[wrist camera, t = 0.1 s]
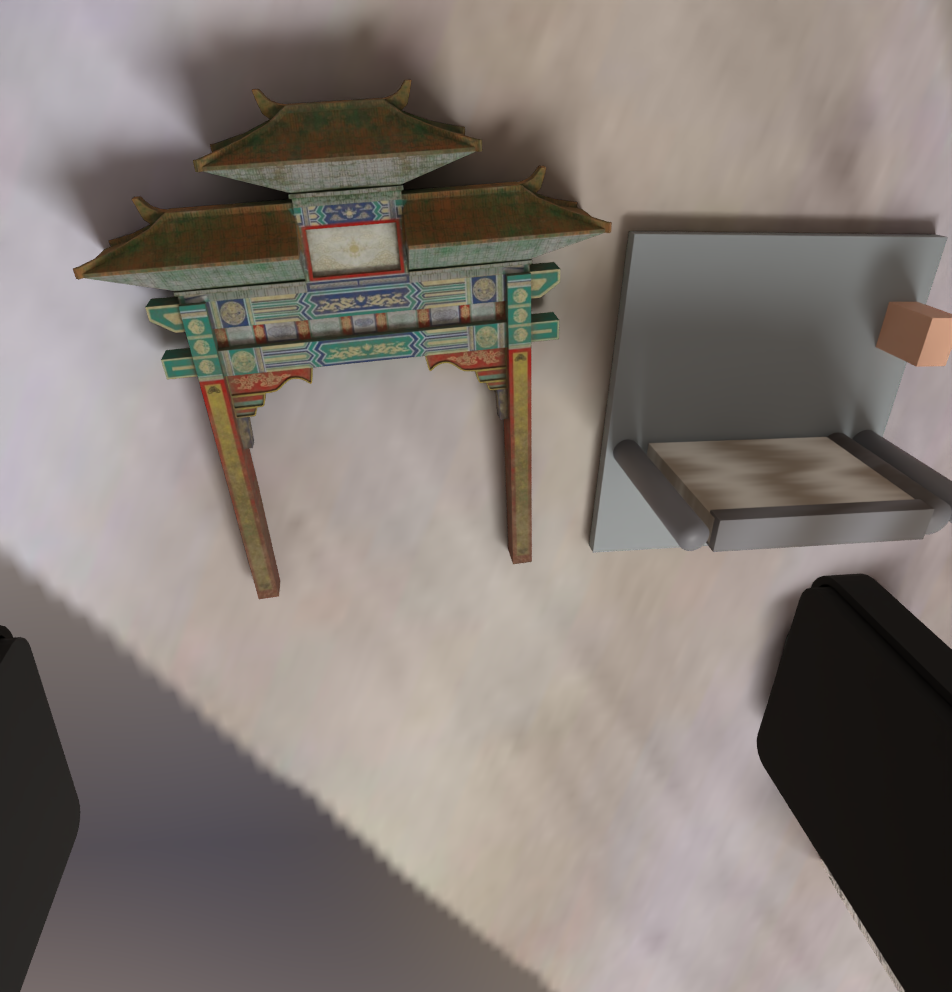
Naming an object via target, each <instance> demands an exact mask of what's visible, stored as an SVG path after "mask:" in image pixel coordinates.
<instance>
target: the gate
mask: <svg viewBox="0 0 952 992" xmlns="http://www.w3.org/2000/svg"><path fill="white" fill-rule="evenodd" d="M647 456H648V457H649V458H650V460H651V461H652V462H653V463H654V464H655V465H656V467H657V468H658V469H659V470H660V471H661V473H662V474H663V475H664V476H665V477H666V479H667V480H668V481H669V482H670V483H671V484H672V486H673V487H674V488H675V489H676V490H677V492H678V493H679V494H680V495H681V496H682V497H683V499H684V500H685V501H686V502H687V503H688V505H689V506H690V507H691V508H692V509H693V511H694V512H695V513H696V514H697V515H698V516H699V518H700V519H701V520H702V521H703V522H704V524H705V525H706V526H707V527H708V529H709V538H708V540H707V542H706V544H707V545H708V546H709V547H710V548H711V550H712V551H713V552H720V551H736V550H752V549H769V548H785V547H802V546H818V545H834V544H851V543H867V542H884V541H900V540H917V539H923V538H924V535H925V534H933V533H935V532H937V531H939V530H941V529H942V528H943V527H944V526H945V525H946V524H947V523H948V521H949V520H950V517H951V514H952V509H951V507H950V505H949V504H948V503H946V502H945V501H943V500H942V499H940V498H939V497H937V496H936V495H934V494H933V493H931V492H930V491H928V490H927V489H925V488H924V487H922V486H921V485H919V484H918V483H916V482H915V481H913V480H912V479H911V478H909V477H908V476H906V475H905V474H903V473H902V472H900V471H899V470H897V469H896V468H894V467H893V466H891V465H890V464H888V463H887V462H885V461H884V460H882V459H881V458H879V457H878V456H876V455H875V454H873V453H872V452H871V451H869V450H868V449H866V448H865V447H863V446H862V445H860V444H859V443H857V442H856V441H854V440H853V439H851V438H850V437H848V436H847V435H845V434H844V433H839V432H838V433H833V434H831V435H829V436H828V437H808V438H780V439H752V440H724V441H696V442H669V443H649V445H648V451H647Z"/></svg>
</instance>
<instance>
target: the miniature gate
mask: <svg viewBox="0 0 952 992" xmlns="http://www.w3.org/2000/svg"><path fill="white" fill-rule="evenodd" d="M411 81H412V80H404V82H403V84H402V85H401V87H400V88H399V90H398V91H397V92H396V93H394V94H393V95H391V96H389V97H385V98H372V99H357V100H341V101H325V102H310V103H294V104H280V103H276V102H274V101H271V100H270V99H268V98H267V97H266V96H265V95H264V94H263V93H262V92H261V91H260V90H259V89H252V92H253V95H254V97H255V99H256V101H257V104H258V106H259V108H260V110H261V112H262V114H263V115H265V116H266V117H268V118H269V119H270V120H268V121H266V122H264V123H262V124H261V125H259V126H257V127H255V128H253V129H251V130H250V131H248V132H246V133H243V134H241V135H238V136H235V137H232V138H229V139H227V140H224V141H221V142H218V143H215V144H210V147H211V150H212V153H210V154H208V155H206V156H203V157H201V158H199V159H196V160H193V163H194V168H195V171H196V172H202V171H203V172H207V173H211V174H215V175H219V176H223V177H227V178H231V179H235V180H239V181H243V182H247V183H251V184H256V185H260V186H264V187H268V188H272V189H276V190H280V191H284V192H288V193H289V194H288V195H289V199H286V200H273V201H261V202H248V203H235V204H222V205H210V206H197V207H184V208H171V209H168V210H167V209H160V208H156V207H153V206H152V205H150V204H149V203H147V202H146V201H145V200H144V199H143V198H142V197H141V196H138V197H134V198H132V201H133V203H134V204H135V206H136V208H137V209H138V211H139V213H140V214H141V216H142V218H143V219H144V220H145V221H146V222H148V223H150V225H148V226H146V227H144V228H142V229H140V230H138V231H136V232H135V233H132V234H129V235H126V236H122V237H119V238H116V239H112V240H109V243H110V246H111V247H109V248H106V249H104V250H103V251H102V252H101V253H100V254H99V255H98V256H97V257H96V258H95V259H93V260H91V261H89V262H87V263H85V264H83V265H81V266H79V267H76V268H73V271H74V274H75V277H76V279H78V280H79V279H82V278H87V279H94V280H101V281H108V282H115V283H122V284H129V285H136V286H143V287H150V288H158V289H165V290H172V291H174V296H177V297H166V298H155V299H151V300H150V301H149V303H148V304H147V306H146V307H145V308H146V311H147V315H148V318H149V321H150V322H152V323H154V324H157V325H159V326H161V327H163V328H166V329H168V330H170V331H172V332H175V333H178V332H186V335H187V339H188V343H189V346H190V348H184V349H174V350H166V351H165V353H164V355H163V357H162V359H161V361H162V365H163V368H164V371H165V375H166V378H167V379H176V378H186V377H196V376H198V379H199V383H200V386H201V390H202V394H203V397H204V401H205V405H206V408H207V412H208V416H209V419H210V423H211V427H212V430H213V434H214V437H215V441H216V445H217V448H218V452H219V456H220V459H221V463H222V467H223V470H224V474H225V478H226V481H227V485H228V488H229V492H230V496H231V499H232V503H233V507H234V510H235V514H236V518H237V521H238V525H239V529H240V532H241V536H242V539H243V543H244V547H245V550H246V554H247V558H248V561H249V565H250V569H251V572H252V576H253V580H254V583H255V587H256V590H257V594H258V598H259V599H263V598H271V597H278V596H279V589H280V578H279V573H278V569H277V565H276V560H275V556H274V552H273V547H272V543H271V538H270V534H269V530H268V525H267V521H266V517H265V512H264V508H263V503H262V499H261V495H260V490H259V486H258V482H257V478H256V474H255V470H254V466H253V462H252V458H251V454H250V449H249V448H253V444H254V438H253V432H252V427H251V422H250V417H252V416H255V415H256V411H257V407H263V406H264V404H265V399H266V393H271V392H275V391H277V390H279V389H280V388H281V387H282V386H283V385H284V384H285V383H286V382H287V381H288V380H291V379H302V380H305V381H307V382H308V383H310V384H311V383H312V375H313V367H321V366H331V365H341V364H350V363H360V362H370V361H379V360H389V359H399V358H408V357H418V356H425V357H426V361H427V365H428V368H429V370H430V371H432V370H433V369H434V368H435V367H436V366H437V365H439V364H442V363H451V364H453V365H454V366H456V367H457V368H459V369H461V370H463V371H475V373H476V376H477V378H478V381H479V382H480V383H485V382H486V383H487V386H488V388H489V390H496V402H497V414H498V416H499V419H500V420H501V419H504V445H505V474H506V499H507V524H508V549H509V553H510V556H511V559H512V562H513V564H519V563H526V562H532V523H531V342H535V341H545V340H554V339H559V319H558V318H557V316H556V315H555V314H554V312H548V313H538V314H531V298H540V297H542V296H543V295H544V294H546V293H547V292H548V291H550V290H551V289H552V288H554V287H555V286H556V285H557V284H559V283H560V268H559V267H558V266H557V265H556V264H555V263H554V262H550V263H539V264H532V260H531V258H534V257H537V256H540V255H543V254H546V253H548V252H551V251H554V250H557V249H560V248H563V247H565V246H568V245H571V244H574V243H577V242H580V241H582V240H585V239H588V238H591V237H594V236H596V235H599V234H602V233H610V232H611V225H612V222H606V221H603V220H600V219H597V218H594V217H592V216H590V215H589V214H588V213H586V212H585V211H584V210H582V209H579V208H577V202H572V201H565V200H558V199H552V198H549V197H546V196H543V195H540V194H537V193H536V192H537V191H539V190H540V189H541V186H542V182H543V179H544V175H545V171H546V167H545V166H538V167H537V169H536V170H535V172H534V173H533V174H532V175H531V176H530V177H529V178H527V179H525V180H524V181H520V182H504V183H491V184H478V185H465V186H453V187H440V188H427V189H414V190H404V189H403V183H406V182H408V181H410V180H412V179H415V178H417V177H419V176H421V175H424V174H426V173H428V172H431V171H433V170H435V169H437V168H440V167H442V166H444V165H446V164H449V163H451V162H453V161H455V160H458V159H460V158H462V157H465V156H467V155H469V154H471V153H474V152H476V151H477V152H480V151H482V140H480V139H475V138H472V137H468V136H465V127H459V126H454V125H449V124H444V123H439V122H434V121H429V120H426V119H424V118H421V117H418V116H415V115H413V114H410V113H407V112H405V111H402V109H403V108H404V107H405V106H406V105H407V103H408V98H409V93H410V87H411Z"/></svg>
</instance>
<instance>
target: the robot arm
mask: <svg viewBox="0 0 952 992" xmlns="http://www.w3.org/2000/svg"><path fill="white" fill-rule="evenodd" d="M757 749H758V754H759V757H760V760H761V762H762V764H763V766H764V768H765V769H766V771H767V773H768V774H769V776H770V777H771V779H772V781H773V782H774V784H775V785H776V787H777V788H778V790H779V792H780V793H781V795H782V796H783V798H784V800H785V801H786V803H787V804H788V806H789V808H790V809H791V811H792V812H793V814H794V816H795V817H796V819H797V820H798V822H799V824H800V825H801V827H802V828H803V830H804V832H805V833H806V835H807V836H808V838H809V839H810V841H811V843H812V844H813V846H814V847H815V849H816V851H817V852H818V854H819V855H820V857H821V859H822V860H823V862H824V863H825V865H826V867H827V868H828V870H829V871H830V873H831V875H832V876H833V878H834V879H835V881H836V883H837V884H838V886H839V887H840V889H841V890H842V892H843V894H844V895H845V897H846V898H847V900H848V902H849V903H850V905H851V906H852V908H853V910H854V911H855V913H856V914H857V916H858V918H859V919H860V921H861V922H862V924H863V926H864V927H865V929H866V930H867V932H868V934H869V935H870V937H871V938H872V940H873V941H874V943H875V945H876V946H877V948H878V949H879V951H880V953H881V954H882V956H883V957H884V959H885V961H886V962H887V964H888V965H889V967H890V969H891V970H892V972H893V973H894V975H895V977H896V978H897V980H898V981H899V983H900V985H901V986H902V988H903V989H904V991H905V992H952V649H951V648H949V647H948V646H947V645H946V644H945V643H944V642H943V641H942V640H941V639H940V638H938V637H937V636H936V635H935V634H934V633H933V632H932V631H931V630H930V629H928V628H927V627H926V626H925V625H924V624H923V623H922V622H921V621H920V620H919V619H917V618H916V617H915V616H914V615H913V614H912V613H911V612H910V611H909V610H908V609H906V608H905V607H904V606H903V605H902V604H901V603H900V602H899V601H898V600H897V599H895V598H894V597H893V596H892V595H891V594H890V593H889V592H888V591H887V590H886V589H884V588H883V587H882V586H881V585H880V584H879V583H878V582H877V581H876V580H875V579H873V578H871V577H870V576H868V575H865V574H848V575H831V576H822V577H819V578H817V579H816V580H815V581H814V582H813V584H812V586H811V588H809V589H806V590H805V591H804V592H803V593H802V595H801V597H800V600H799V603H798V606H797V610H796V613H795V616H794V619H793V623H792V626H791V629H790V632H789V635H788V639H787V642H786V645H785V648H784V652H783V655H782V658H781V661H780V664H779V668H778V671H777V674H776V677H775V681H774V684H773V687H772V690H771V693H770V697H769V700H768V703H767V706H766V710H765V713H764V716H763V719H762V722H761V726H760V729H759V732H758V736H757ZM79 822H80V805H79V799H78V796H77V793H76V790H75V787H74V784H73V780H72V777H71V774H70V771H69V768H68V764H67V761H66V759H65V755H64V752H63V749H62V745H61V742H60V739H59V736H58V733H57V730H56V726H55V723H54V720H53V717H52V714H51V711H50V707H49V704H48V701H47V698H46V695H45V692H44V688H43V685H42V682H41V679H40V676H39V673H38V670H37V666H36V663H35V660H34V657H33V653H32V651H31V647H30V645H29V643H28V642H27V640H26V639H25V638H21V637H18V638H13V636H12V634H11V632H10V631H9V630H8V629H7V628H6V627H5V626H1V625H0V992H20V990H21V987H22V985H23V982H24V979H25V976H26V974H27V971H28V968H29V965H30V963H31V960H32V957H33V954H34V952H35V949H36V946H37V943H38V941H39V938H40V935H41V932H42V930H43V927H44V924H45V921H46V919H47V916H48V913H49V910H50V908H51V905H52V902H53V899H54V897H55V894H56V891H57V888H58V885H59V883H60V880H61V877H62V875H63V872H64V869H65V866H66V864H67V861H68V858H69V855H70V853H71V850H72V847H73V844H74V841H75V839H76V836H77V832H78V828H79Z"/></svg>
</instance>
